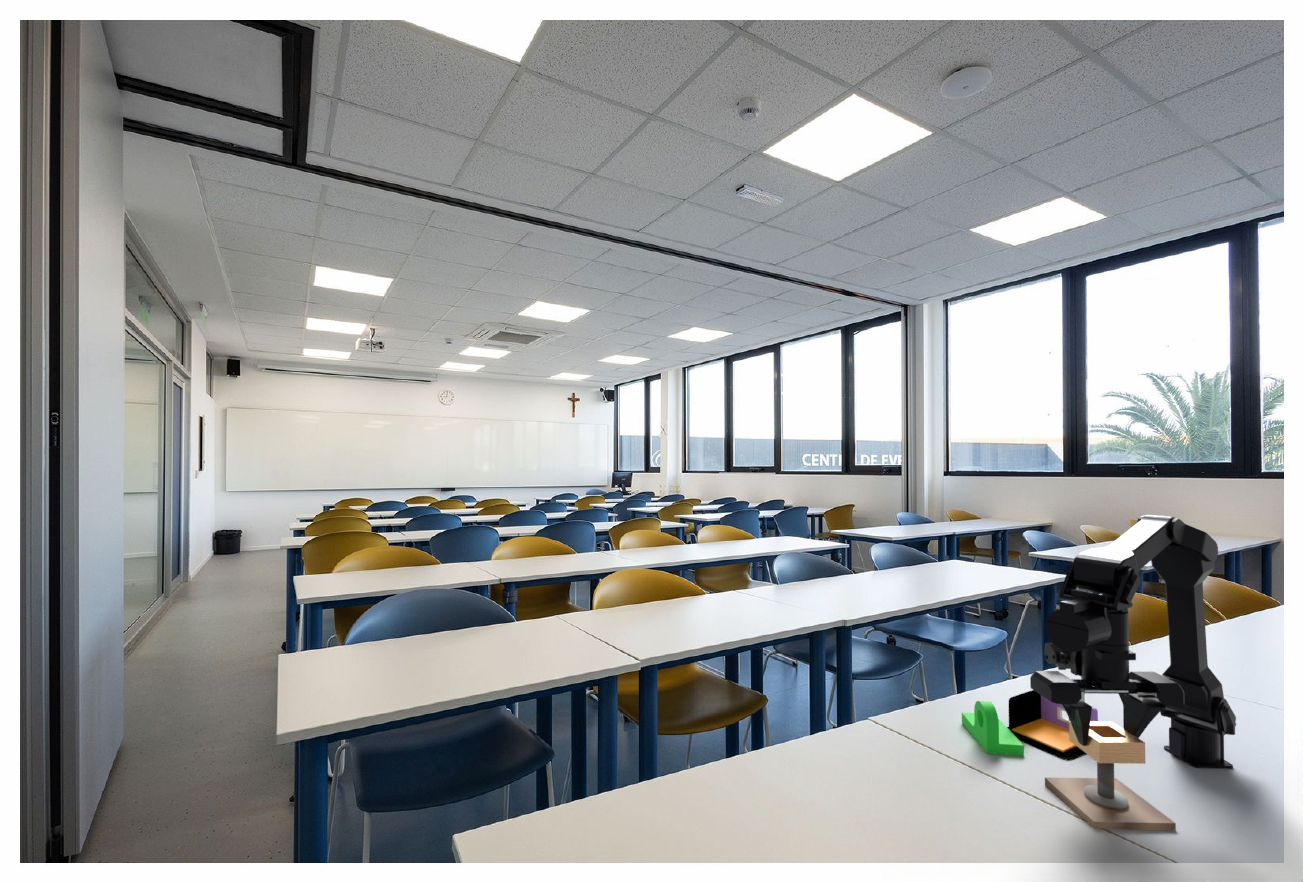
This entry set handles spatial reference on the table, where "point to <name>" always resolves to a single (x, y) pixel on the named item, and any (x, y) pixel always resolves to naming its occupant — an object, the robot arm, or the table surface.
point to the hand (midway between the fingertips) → (1105, 744)
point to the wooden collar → (1111, 744)
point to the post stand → (1108, 802)
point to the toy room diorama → (1043, 724)
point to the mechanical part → (991, 730)
